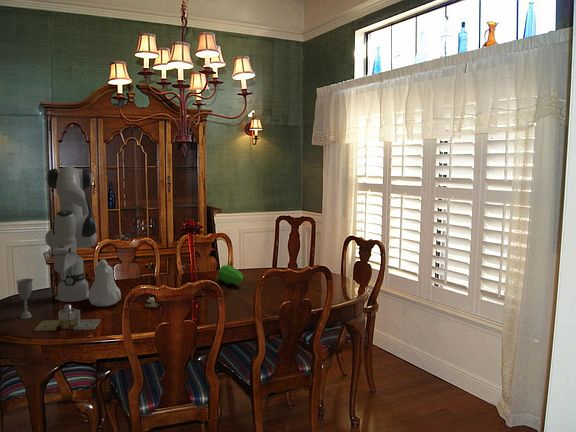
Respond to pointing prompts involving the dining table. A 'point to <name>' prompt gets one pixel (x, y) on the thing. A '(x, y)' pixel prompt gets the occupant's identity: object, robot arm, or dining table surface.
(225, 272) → the green ridged rounded cylinder
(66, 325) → the hinge
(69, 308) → the pin
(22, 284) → the chalice
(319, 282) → the dining table surface
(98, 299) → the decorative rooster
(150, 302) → the cat figure
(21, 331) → the dining table surface
